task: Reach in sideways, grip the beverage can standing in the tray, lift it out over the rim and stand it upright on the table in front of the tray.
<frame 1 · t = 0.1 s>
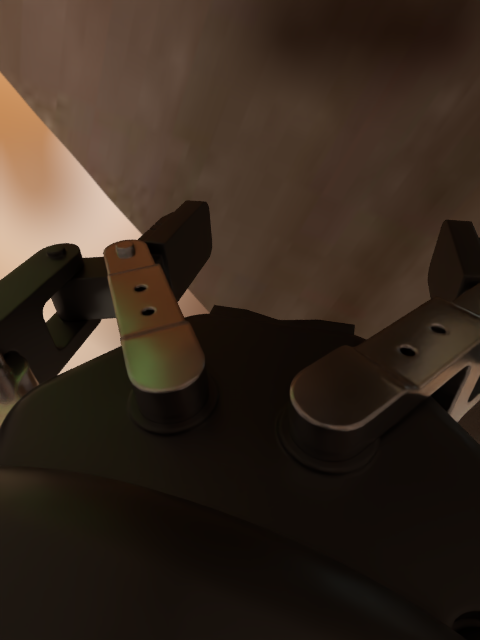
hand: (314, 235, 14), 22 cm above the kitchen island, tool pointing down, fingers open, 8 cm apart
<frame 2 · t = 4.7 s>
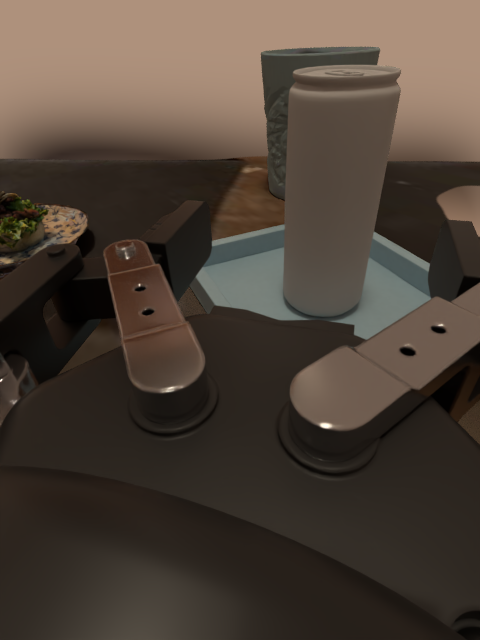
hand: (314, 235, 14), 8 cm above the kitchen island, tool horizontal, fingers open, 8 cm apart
beverage can: (319, 300, 24), resting on tray
green embossed cup: (308, 189, 41), on the kitchen island
burger: (21, 253, 32), on the kitchen island
tray: (319, 302, 24), on the kitchen island
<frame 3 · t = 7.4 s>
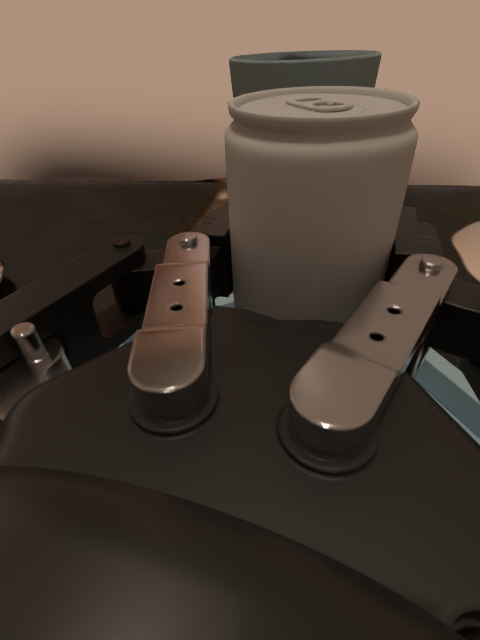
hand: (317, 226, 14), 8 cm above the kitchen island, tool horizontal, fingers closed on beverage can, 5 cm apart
beverage can: (294, 416, 17), resting on tray, touching gripper
green embossed cup: (294, 223, 33), on the kitchen island
tray: (294, 417, 17), on the kitchen island
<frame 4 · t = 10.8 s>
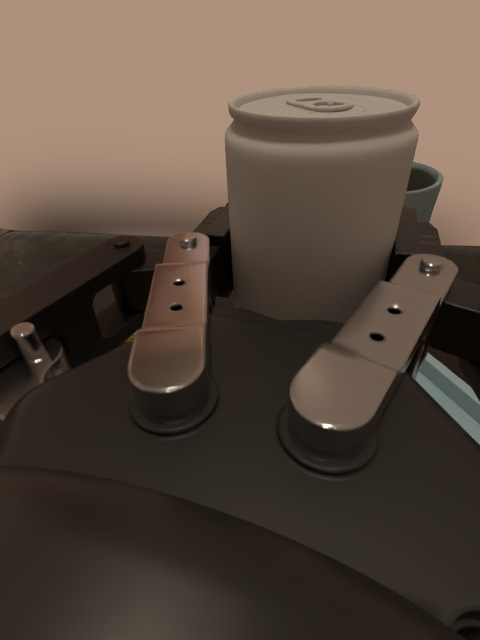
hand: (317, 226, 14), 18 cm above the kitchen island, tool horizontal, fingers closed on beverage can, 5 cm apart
beverage can: (295, 416, 17), point 10 cm above the kitchen island, touching gripper
green embossed cup: (362, 284, 43), on the kitchen island
tray: (404, 450, 26), on the kitchen island
when the fingers open (7 cm above the kitchen island, at t = 14.3 s): beverage can stays where it is, on the kitchen island.
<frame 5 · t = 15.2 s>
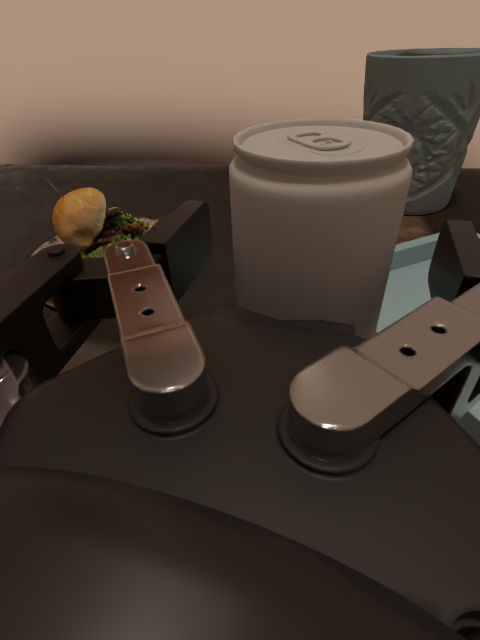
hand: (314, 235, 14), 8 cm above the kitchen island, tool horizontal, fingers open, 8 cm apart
beverage can: (295, 427, 17), on the kitchen island
green embossed cup: (399, 199, 38), on the kitchen island
burger: (116, 270, 29), on the kitchen island
tray: (477, 330, 22), on the kitchen island
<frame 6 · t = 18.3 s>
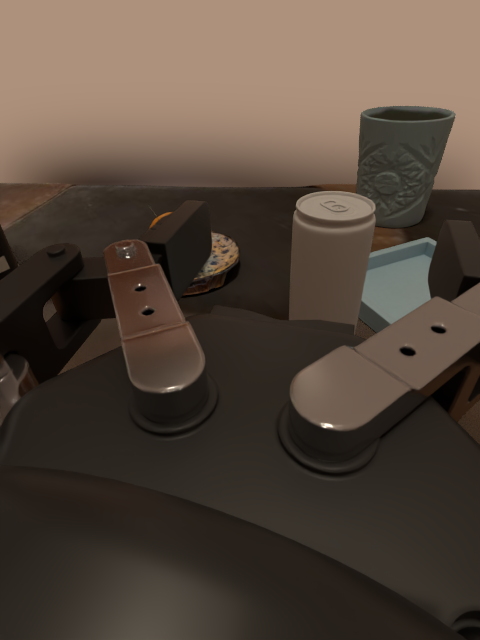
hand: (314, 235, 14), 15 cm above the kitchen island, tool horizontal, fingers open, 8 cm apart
beverage can: (317, 357, 30), on the kitchen island
green embossed cup: (386, 215, 51), on the kitchen island
burger: (186, 268, 42), on the kitchen island
tray: (430, 305, 34), on the kitchen island
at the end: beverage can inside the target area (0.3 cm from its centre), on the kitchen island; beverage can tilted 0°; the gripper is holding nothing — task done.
